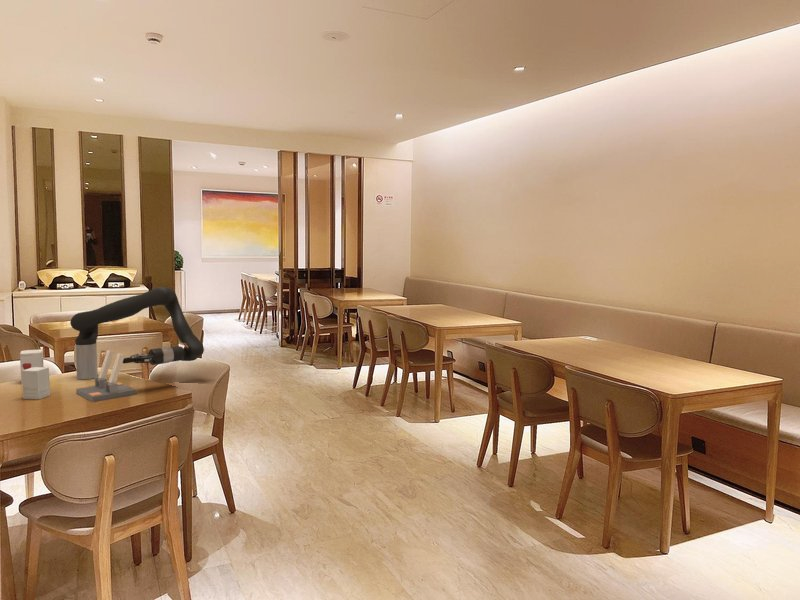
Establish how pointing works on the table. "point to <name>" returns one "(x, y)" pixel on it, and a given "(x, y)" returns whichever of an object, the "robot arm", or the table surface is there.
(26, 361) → the supplement box
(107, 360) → the lever far
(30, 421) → the table surface
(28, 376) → the supplement box
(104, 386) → the switch base
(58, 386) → the table surface
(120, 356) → the lever near
